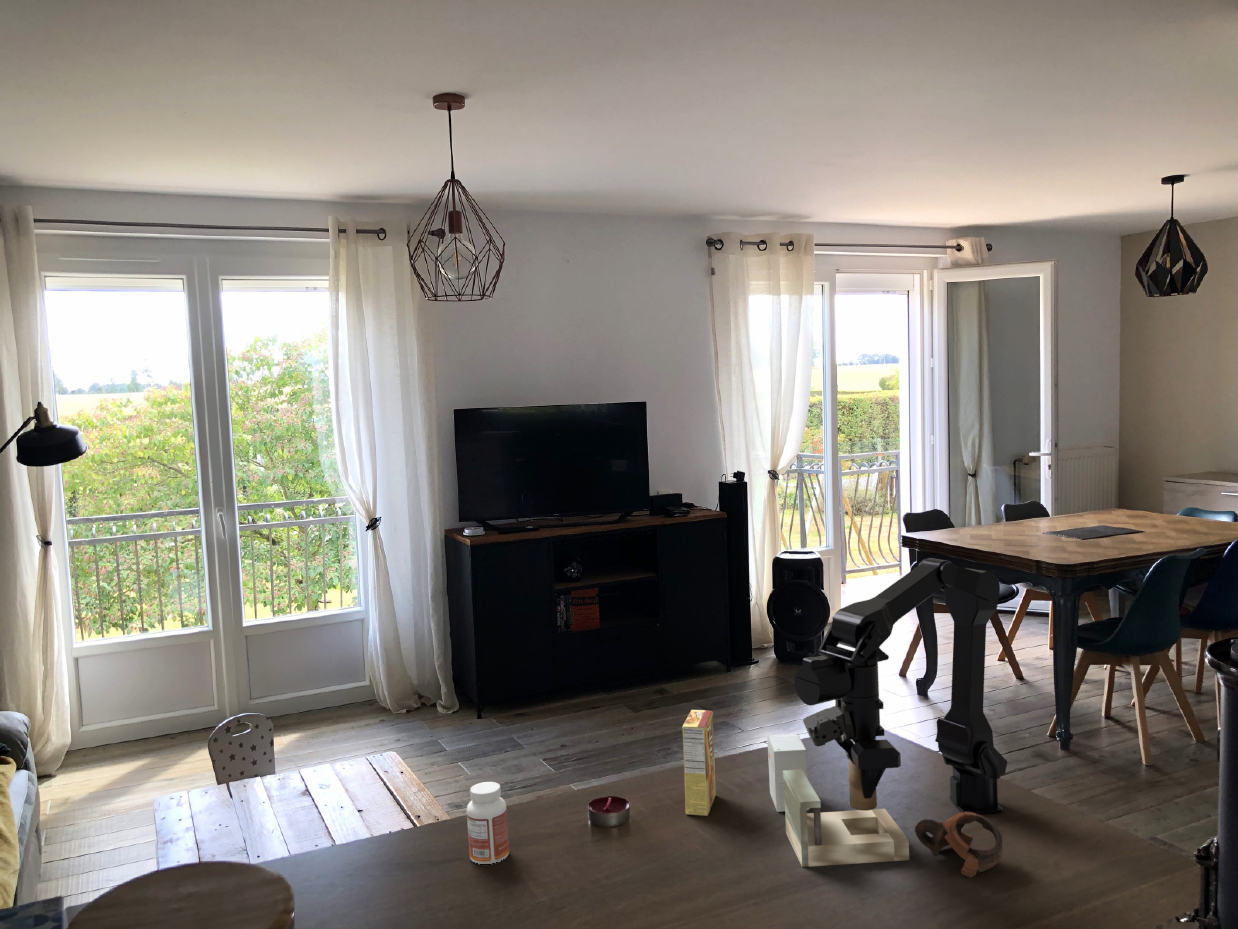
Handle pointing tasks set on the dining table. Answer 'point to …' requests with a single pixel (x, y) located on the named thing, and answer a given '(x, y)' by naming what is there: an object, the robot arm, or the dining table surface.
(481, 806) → the pill bottle
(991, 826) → the pottery mug
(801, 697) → the robot arm
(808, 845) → the shelter
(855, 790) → the peg
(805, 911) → the dining table surface
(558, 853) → the dining table surface
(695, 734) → the candy box
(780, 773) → the small box
